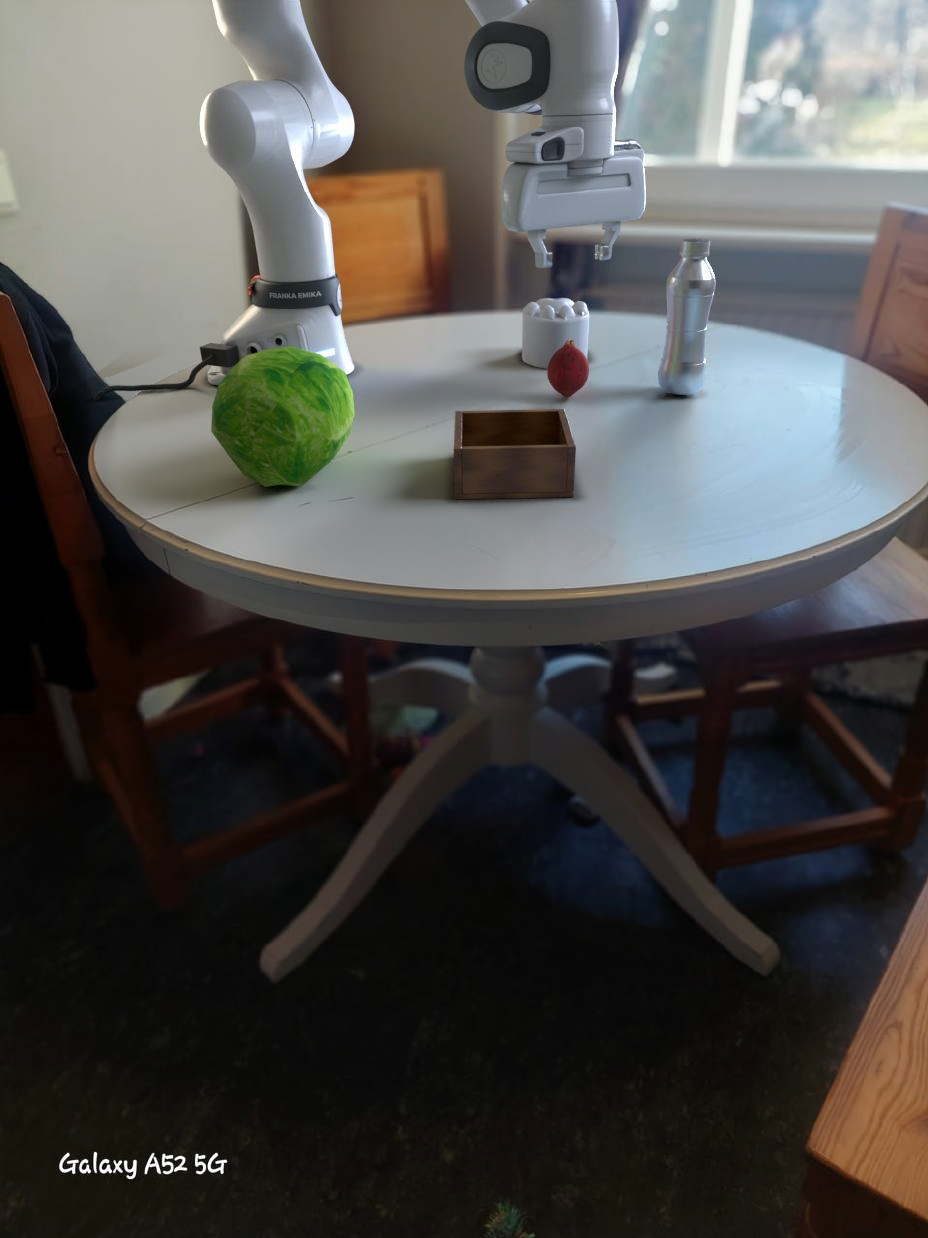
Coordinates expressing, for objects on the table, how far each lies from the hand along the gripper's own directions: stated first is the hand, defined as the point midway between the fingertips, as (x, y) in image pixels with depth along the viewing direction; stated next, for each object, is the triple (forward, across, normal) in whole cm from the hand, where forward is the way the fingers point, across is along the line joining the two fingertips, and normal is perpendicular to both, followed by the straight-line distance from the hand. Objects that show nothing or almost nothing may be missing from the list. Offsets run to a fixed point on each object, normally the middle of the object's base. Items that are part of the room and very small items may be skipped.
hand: (573, 263), depth 113 cm
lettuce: (+18, +42, +4) cm, 45 cm away
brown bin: (+18, +22, +20) cm, 35 cm away
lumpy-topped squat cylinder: (+18, -10, -18) cm, 28 cm away
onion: (+18, 0, 0) cm, 18 cm away
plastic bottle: (+18, -14, +7) cm, 24 cm away
